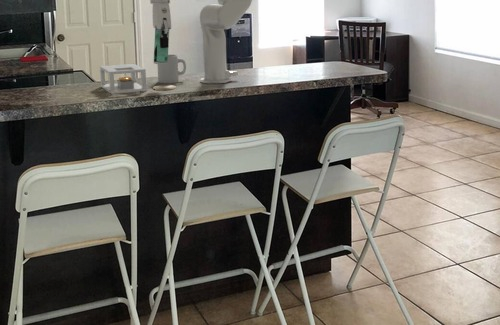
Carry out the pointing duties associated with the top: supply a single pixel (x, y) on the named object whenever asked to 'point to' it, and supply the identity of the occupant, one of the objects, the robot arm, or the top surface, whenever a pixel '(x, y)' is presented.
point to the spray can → (160, 49)
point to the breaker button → (125, 79)
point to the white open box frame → (123, 85)
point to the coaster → (164, 87)
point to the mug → (170, 70)
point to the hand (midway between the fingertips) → (162, 46)
